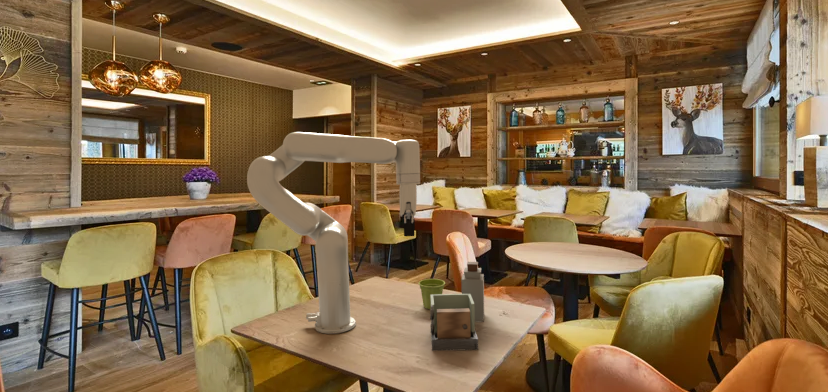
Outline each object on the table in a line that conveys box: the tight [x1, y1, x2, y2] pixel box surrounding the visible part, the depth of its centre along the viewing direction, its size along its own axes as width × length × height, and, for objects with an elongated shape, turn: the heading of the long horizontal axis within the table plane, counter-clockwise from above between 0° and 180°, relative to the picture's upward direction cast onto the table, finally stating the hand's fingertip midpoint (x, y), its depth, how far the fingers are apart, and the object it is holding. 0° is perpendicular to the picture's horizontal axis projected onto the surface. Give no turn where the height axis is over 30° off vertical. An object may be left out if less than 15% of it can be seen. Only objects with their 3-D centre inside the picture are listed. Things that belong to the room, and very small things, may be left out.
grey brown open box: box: [429, 306, 479, 352], centre depth 114 cm, size 13×6×11 cm, turn 89°
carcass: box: [431, 293, 476, 333], centre depth 120 cm, size 12×9×11 cm
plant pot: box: [418, 278, 446, 310], centre depth 145 cm, size 9×9×9 cm
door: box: [437, 308, 471, 338], centre depth 114 cm, size 9×3×10 cm, turn 90°
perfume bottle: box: [460, 261, 485, 323], centre depth 134 cm, size 7×7×18 cm
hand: (409, 233), depth 132 cm, fingers open, 9 cm apart
